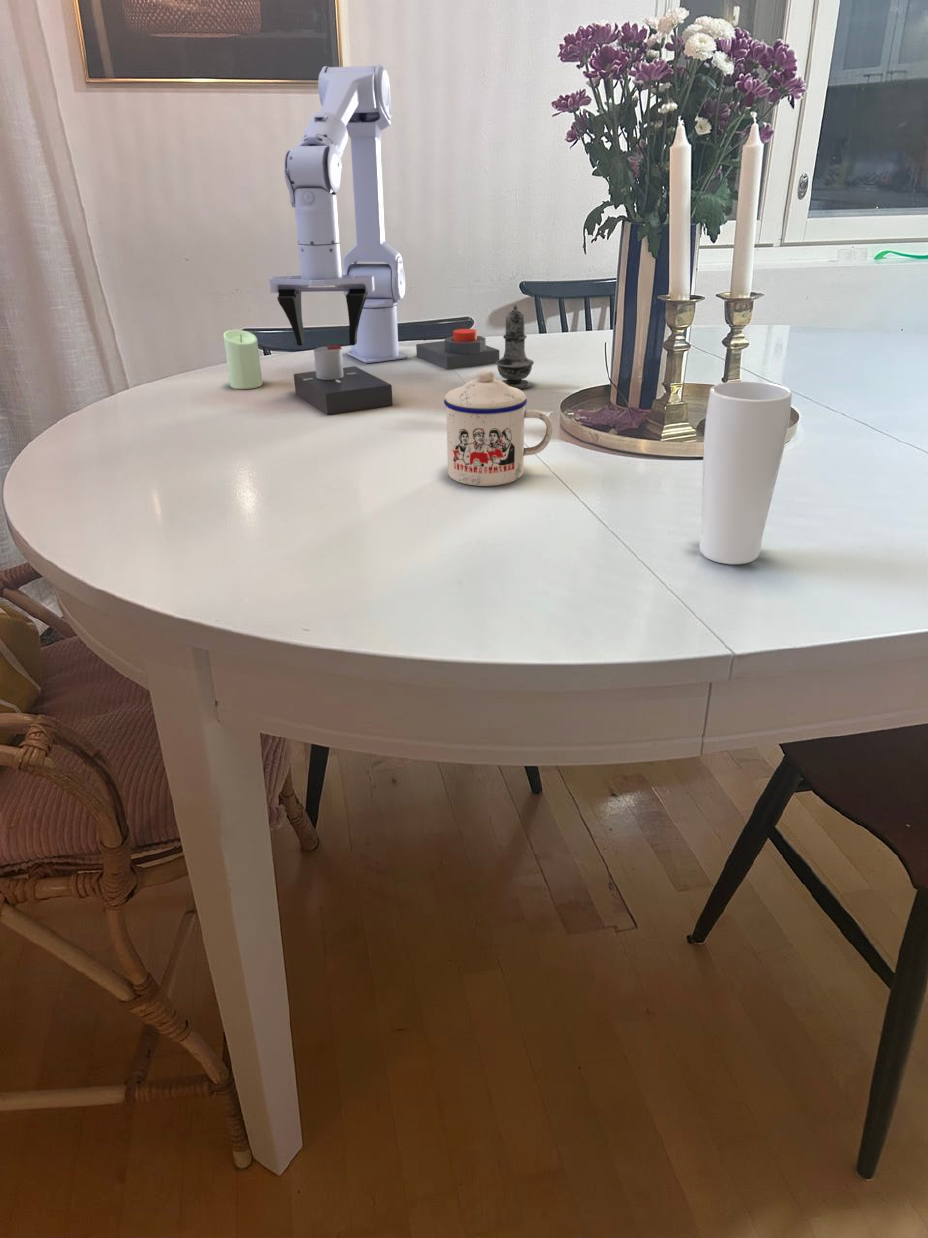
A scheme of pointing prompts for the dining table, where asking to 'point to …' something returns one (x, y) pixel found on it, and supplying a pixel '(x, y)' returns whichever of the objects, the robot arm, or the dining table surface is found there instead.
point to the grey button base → (458, 353)
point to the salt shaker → (515, 352)
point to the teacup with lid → (488, 431)
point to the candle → (242, 359)
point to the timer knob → (328, 362)
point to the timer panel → (344, 391)
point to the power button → (465, 335)
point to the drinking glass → (741, 466)
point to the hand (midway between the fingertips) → (327, 344)
